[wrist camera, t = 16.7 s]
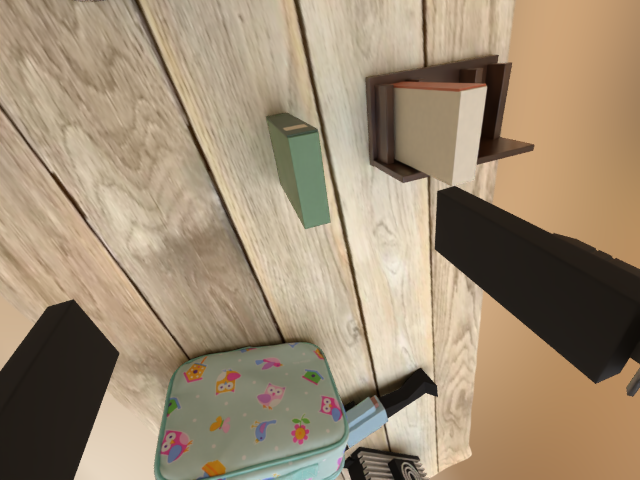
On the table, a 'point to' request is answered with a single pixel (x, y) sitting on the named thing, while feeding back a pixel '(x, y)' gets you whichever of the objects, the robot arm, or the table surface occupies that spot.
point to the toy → (385, 406)
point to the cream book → (439, 128)
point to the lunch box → (253, 417)
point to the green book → (300, 167)
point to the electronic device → (383, 466)
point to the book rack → (454, 72)
